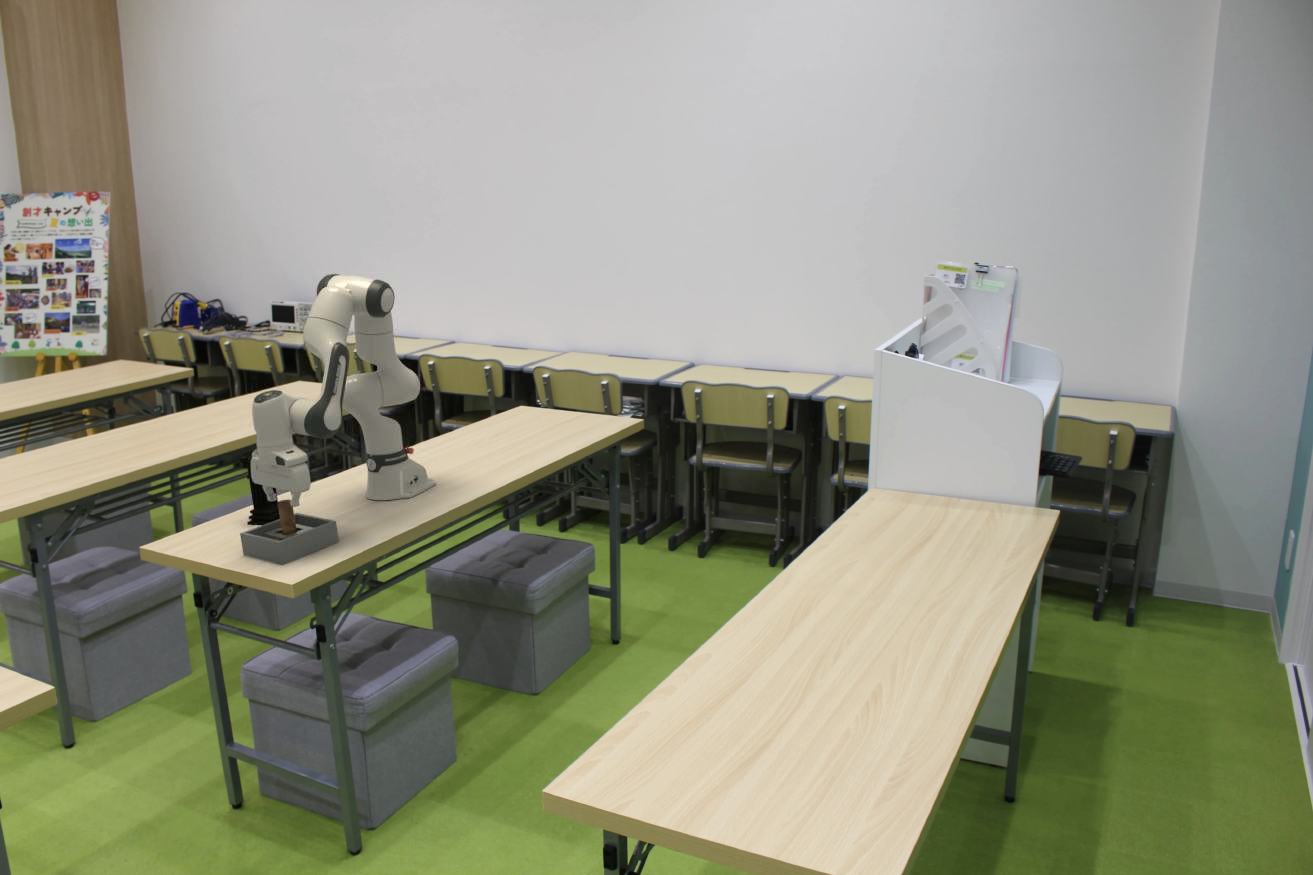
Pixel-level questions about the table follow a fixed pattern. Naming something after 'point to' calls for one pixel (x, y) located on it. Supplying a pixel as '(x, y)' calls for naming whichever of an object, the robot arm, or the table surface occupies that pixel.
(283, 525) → the peg
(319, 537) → the open box
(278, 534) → the grey square frame
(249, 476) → the chess piece
